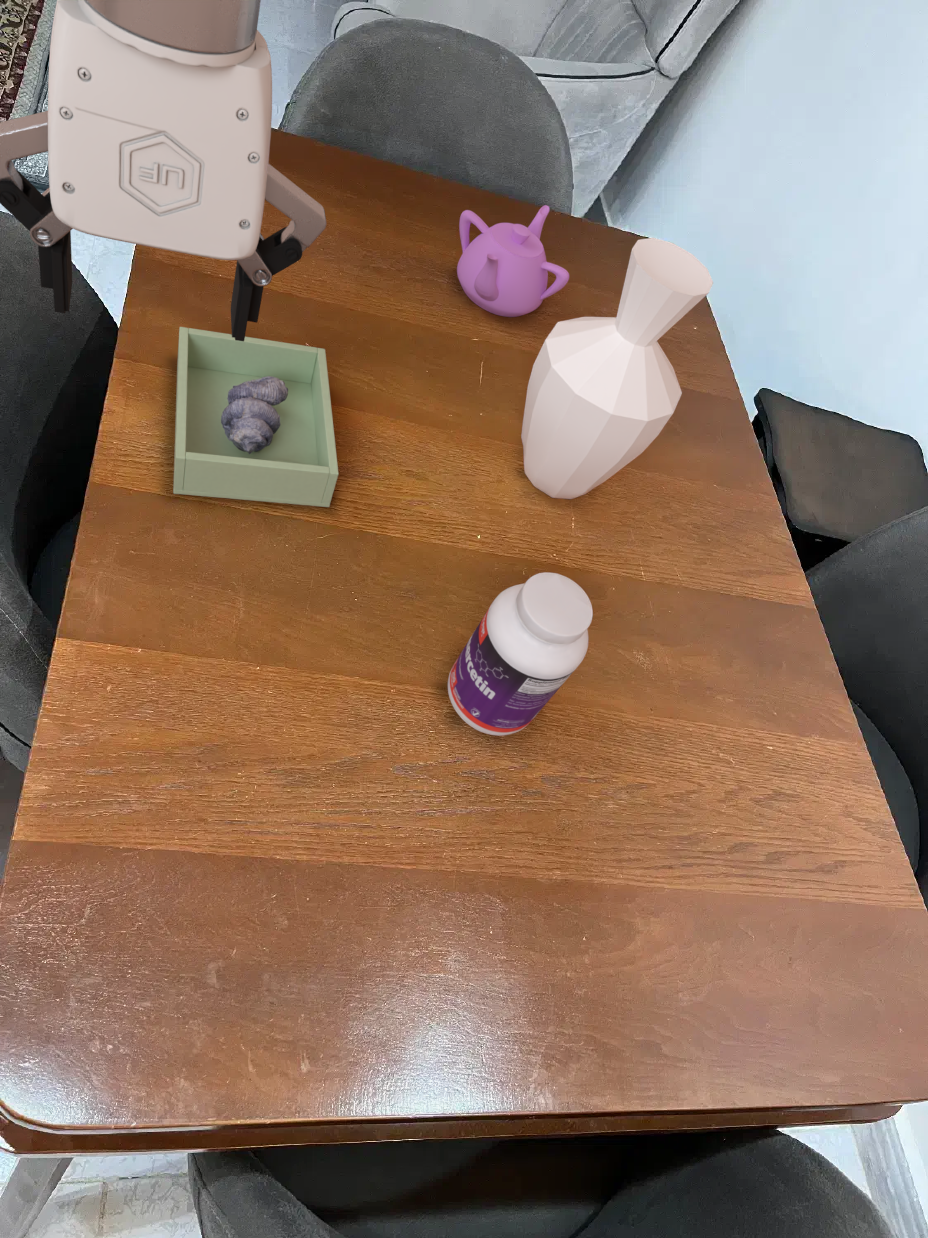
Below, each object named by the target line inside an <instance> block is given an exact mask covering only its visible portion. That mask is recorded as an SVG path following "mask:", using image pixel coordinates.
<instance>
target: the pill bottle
mask: <svg viewBox="0 0 928 1238" xmlns="http://www.w3.org/2000/svg"><path fill="white" fill-rule="evenodd" d="M593 613H594V612H593V605H592V603H591V600H590V597H589V596H588V594H587V593H586V592H585V590H584V589H583V588H582V587H581V586H580V585H579V584H578V583H577V582H575V580H573V579H572V578H569V577H567V576H565V575H562V574H560V573H557V572H551V571H550V572H545V571H544V572H539V573H535V574H534V575H532V576H531V577H529V578H528V579H527V580H526V581H525V582H524V583H520V584H515V585H513V586H510V587H507V588H505V589H503V590H502V591H501V592H500V593H499V594H498V595H497V596H496V597H495V598H494V599H493V600H492V603H491V604H490V605H489V607H488V609H487V610H486V612H485V614H484V615H483V617H482V618H481V620H480V622H479V623H478V625H477V627H476V628H475V629H474V631H473V632H472V634H471V636H470V638H469V639H468V641H467V643H466V644H465V646H464V647H463V649H462V650H461V652H460V653H459V655H458V657H457V659H456V660H455V661H454V663H453V665H452V666H451V669H450V671H449V675H448V679H447V693H448V697H449V700H450V703H451V705H452V708H453V709H454V711H455V712H456V713H457V715H458V716H459V717H460V718H461V720H462V721H463V722H465V724H467V725H468V726H470V727H471V728H473V729H474V730H476V731H477V732H480V733H484V734H486V735H491V736H498V737H499V736H509V735H512V734H515V733H518V732H520V731H522V730H523V729H525V728H526V727H528V726H529V724H531V722H532V721H533V720H534V719H535V718H536V716H538V714H539V713H540V712H541V711H542V709H543V708H544V707H545V706H546V705H547V703H548V702H549V701H550V700H551V699H552V698H553V696H555V694H556V693H557V692H558V690H559V689H560V688H561V687H562V686H563V684H565V682H566V681H567V680H568V679H569V678H570V677H571V676H572V674H573V673H574V672H575V671H576V669H577V668H579V666H580V665H581V664H582V662H583V660H584V658H585V657H586V655H587V651H588V648H589V627H590V625H591V624H592V620H593V616H594V614H593Z"/></svg>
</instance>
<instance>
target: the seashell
mask: <svg viewBox="0 0 928 1238" xmlns="http://www.w3.org/2000/svg"><path fill="white" fill-rule="evenodd" d="M287 395H288V388H287V387H285V382H283V381H281V380H280V379H278V378H276V377H272V376H267V377H264V378H263V377H262V378H261V379H256V380H251V381H246V382H244V383H242V384H239V385H236V386H233V388H232V389H231V390H229V392H228V397H227V399H228V403H229V405H228V406H227V407H226V408H225V409H224V411H223V413H222V416H221V423H222V426H223V429H224V430H225V434H226V436H227V438H228V439H229V441H232V442H233V444H234V445H235V446H236V447H237V448H238V449H239V450H241V451H244V452H248V453H249V454H251V453H252V452H258V451H260V450H262V449H263V448H265V447H267V446H269V445H270V444H271V442H272V439H273V434H275V433H276V432H277V430H278V429H279V427H280V425H281V424H280V416H279V415H278V413H277V411H276V409H274V408H273V407H272V406H275V405H278V404H280V403H281V402H283V401H285V400H286V398H287ZM271 405H272V406H271Z"/></svg>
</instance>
